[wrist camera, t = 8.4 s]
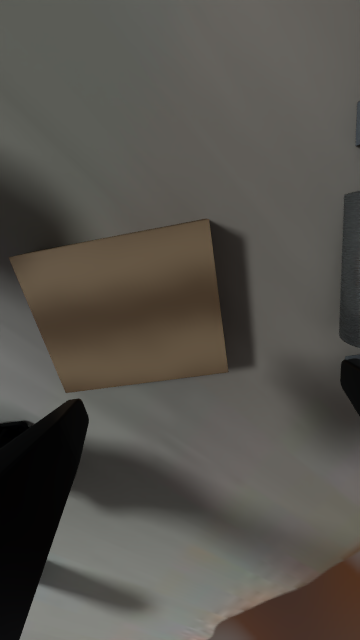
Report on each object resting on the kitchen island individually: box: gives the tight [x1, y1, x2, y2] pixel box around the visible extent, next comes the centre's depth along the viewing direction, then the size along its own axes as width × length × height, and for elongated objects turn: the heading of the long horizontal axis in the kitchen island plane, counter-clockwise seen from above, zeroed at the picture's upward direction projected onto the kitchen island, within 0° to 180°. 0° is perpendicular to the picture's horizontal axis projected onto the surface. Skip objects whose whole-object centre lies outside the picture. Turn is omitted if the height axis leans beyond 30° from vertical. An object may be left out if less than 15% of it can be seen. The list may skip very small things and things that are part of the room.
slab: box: [9, 219, 228, 393], centre depth 18 cm, size 10×12×3 cm
